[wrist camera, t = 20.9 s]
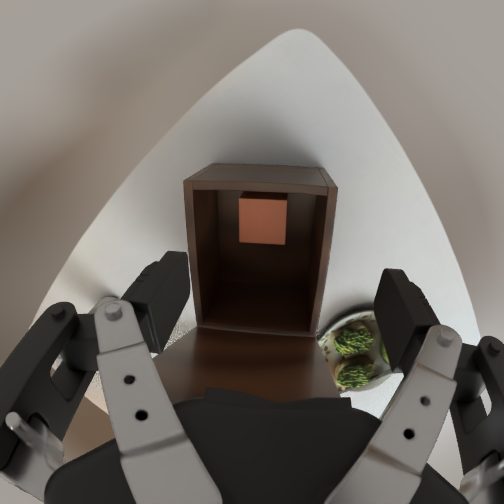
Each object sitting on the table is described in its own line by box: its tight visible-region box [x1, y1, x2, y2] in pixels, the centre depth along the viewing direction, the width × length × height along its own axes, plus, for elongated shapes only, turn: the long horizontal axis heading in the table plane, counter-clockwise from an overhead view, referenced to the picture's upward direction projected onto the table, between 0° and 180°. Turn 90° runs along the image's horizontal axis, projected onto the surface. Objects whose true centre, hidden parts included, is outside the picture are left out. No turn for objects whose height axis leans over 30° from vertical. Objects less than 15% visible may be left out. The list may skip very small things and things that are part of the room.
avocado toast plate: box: [318, 307, 394, 394], centre depth 39 cm, size 19×18×5 cm
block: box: [239, 191, 288, 245], centre depth 30 cm, size 5×5×5 cm
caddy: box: [183, 164, 338, 337], centre depth 30 cm, size 16×13×9 cm
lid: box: [152, 327, 341, 404], centre depth 21 cm, size 16×13×5 cm
